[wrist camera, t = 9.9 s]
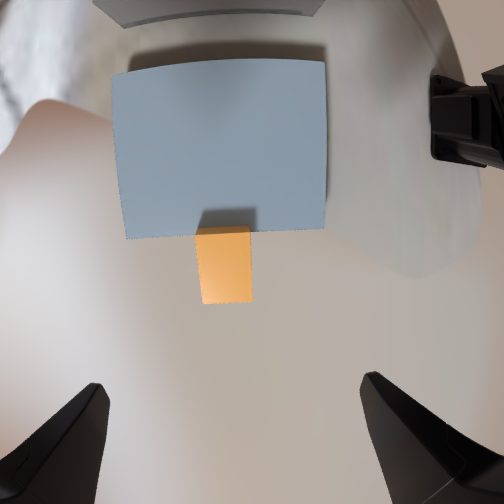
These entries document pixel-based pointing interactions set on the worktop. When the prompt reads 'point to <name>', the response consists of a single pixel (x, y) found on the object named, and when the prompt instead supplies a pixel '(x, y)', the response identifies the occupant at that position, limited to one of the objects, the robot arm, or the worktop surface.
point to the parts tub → (197, 9)
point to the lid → (221, 158)
